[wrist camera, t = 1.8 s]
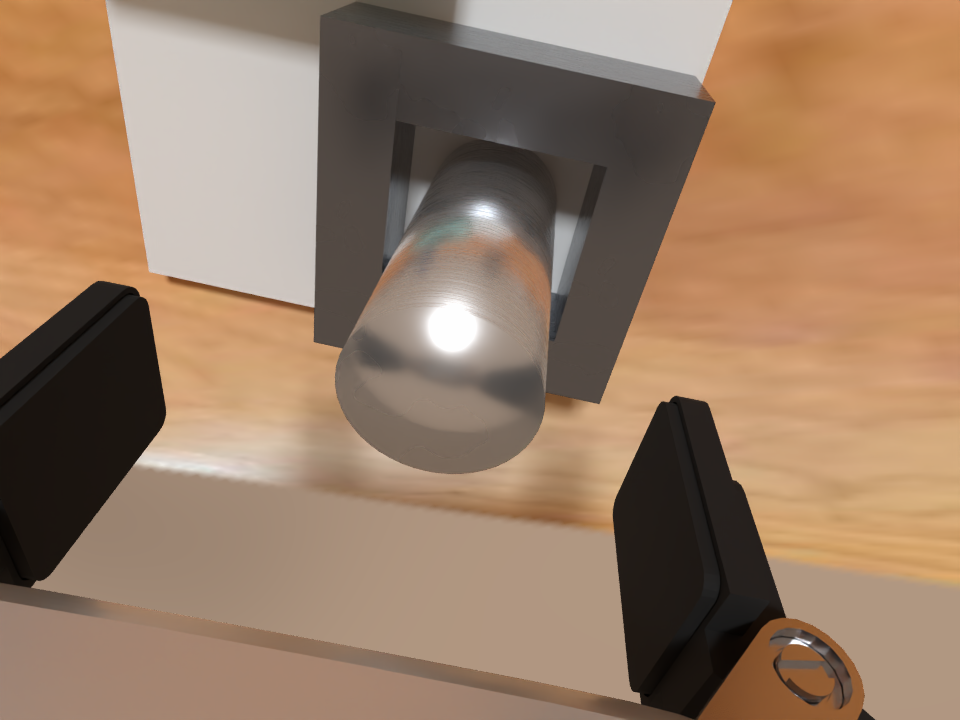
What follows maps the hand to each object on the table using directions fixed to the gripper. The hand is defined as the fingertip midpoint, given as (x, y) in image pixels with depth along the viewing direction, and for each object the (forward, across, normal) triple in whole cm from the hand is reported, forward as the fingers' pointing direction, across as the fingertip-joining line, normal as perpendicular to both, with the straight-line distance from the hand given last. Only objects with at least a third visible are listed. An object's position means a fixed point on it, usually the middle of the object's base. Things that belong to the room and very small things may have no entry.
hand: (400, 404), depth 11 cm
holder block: (+10, -1, 0) cm, 10 cm away
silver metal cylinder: (+10, -1, 0) cm, 10 cm away
